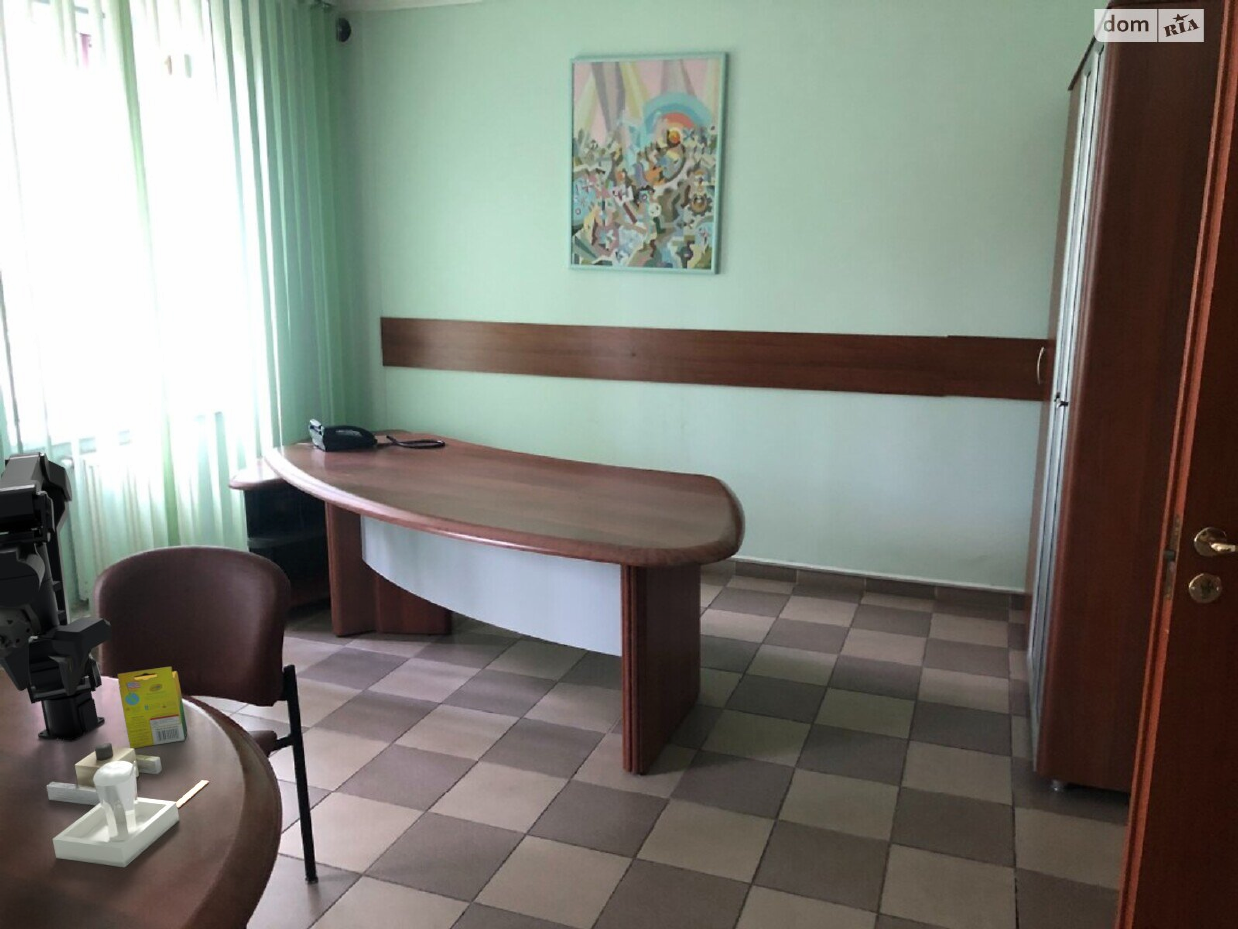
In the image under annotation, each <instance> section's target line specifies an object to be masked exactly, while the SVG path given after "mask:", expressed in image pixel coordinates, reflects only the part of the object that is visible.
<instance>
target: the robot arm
mask: <svg viewBox="0 0 1238 929" xmlns="http://www.w3.org/2000/svg"><path fill="white" fill-rule="evenodd" d="M4 467H5V468H4V470H3V471H2V473H1V474H0V666H1V667H2V668H3V669H4V672H6V675H7V676H8V677H9V679H10V680H11V682H12V683H13V685H14V686H15V687H16V689H17V690H18V691H19V692H23V691H25V690H27V693H28V697H29V700H30V703H31V705H33V704H37V703H39V702H40V704H41V710H42V714H43V721H44V725H45V729H43V730H42V731H40V732H38V733H37V737H38V738H39V739H49V740H57V741H58V740H59V741H66V742H67V741H68V742H74V741H77V740H78V739H79V738H81V737H82V736H84V735H86V734H87V733H89V732H90V731H92V730H94V729H95V728H96V727H97V726H100V725H101V724H102V723H104V722H105V720H106V718H105V717H104V716H98V714H97V708H96V701H95V699H94V698H93V694H92V692H94V693H95V692H96V691H97V688H100V687H101V686H102V685H103V682H102V677H101V671H100V668H99V664H98V661H97V660H96V659H94V658H93V655H92V653H91V652H92V650H93V649H95V648H96V647H97V646H100V645H101V644H103V643H106V642H107V641H108V640H111V639H112V638H113V633H112V627H111V622H110V621H108V620H106V619H105V618H101V617H99V618H98V617H87V616H81V617H79V618H77V619H75V620H73V621H71V617H70V608H69V601H68V600H69V599H68V591H67V583H66V575H65V574H66V573H65V566H64V565H65V564H64V557H63V550H62V548H63V547H62V540H61V539H62V538H61V531H62V529H63V527H64V525H65V524H66V522H67V521H68V518H69V517H70V506H69V503H70V502H73V490H72V485H71V481H70V477H69V475H68V473H67V470H66V468H65V466H62V465H60V464H58V463H56V462H54V461H51V460H49V458H48V456H47V454H46V452H41V451H34V452H32V451H31V452H25V453H24V452H23V453H15V454H10V455H9V456H5V458H4ZM30 639H32V640H31V641H30ZM29 641H30V642H29Z"/></svg>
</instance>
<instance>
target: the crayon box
mask: <svg viewBox="0 0 1238 929" xmlns="http://www.w3.org/2000/svg"><path fill="white" fill-rule="evenodd" d="M144 674H148V675H144ZM117 679H118V680H117V681H118V689H119V693H120V700H121V704H122V711H123V712H122V713H123V716H124V721H125V727H126V732H127V738H128V743H129V748H132V749H138V748H142V747H143V748H144V747H149V746H154V745H155V746H156V745H161V744H162V745H163V744H168V743H169V744H170V743H175V742H184V741H185V740H186V735H187V732H188V727H187V721H186V720H187V719H186V715H185V709H184V704H183V697H182V690H181V685H180V684H181V683H180V681H179V674H178V671H177V670H174V671H173V667H172V666H165V667H159V668H157V667H156V668H151V669H143V670H142V669H141V670H136V671H129V672H122V673H117Z"/></svg>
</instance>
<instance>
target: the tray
mask: <svg viewBox="0 0 1238 929" xmlns="http://www.w3.org/2000/svg"><path fill="white" fill-rule="evenodd" d="M137 798H138V811H139V823H140V828H139V829H138V830H136V831H135V832H134V833H133V834H132V835H130V836H129V837H128V838H127V839H126V840H122V841H114V840H112V839H111V838H110V836H109V832H108V829H107V825H106V821H105V818H104V814H103V810H102V807H101V803H99V804H98V805H97V806H96V805H94V807H93V808H91V809H90V810H89V811H88V812H86V813H84V814H83V815H82V816H81V817H80V818H78V819H77V820H76V821H73V823H72V824H70V825H69V826H68V827H67V828H65V829H64V830H63V831H61V832H60V833H59V834H57V835H56V836H55V837H53V838H52V842H53V848H54V852H55V854H54V855H55V858H56V859H63V860H70V861H75V862H84V863H92V864H96V865H97V864H98V865H106V866H111V867H119V868H126V867H127V866H128V865H129V864H131V862H133V861H134V860H135V859H136V858H138V857H139V856H140V855H141V854H142V853H143V852H144V851H146V850H147V849H148V848H149V847H150V846H151V845H152V844H153V843H155V842H156V841H157V840H158V839H160V838H161V837H162V836H163V835H164V834H165V833H166V832H167V831H168V830H170V829H171V828H172V827H173V826H174V825H175V824H177V823H178V822H179V821H180V816H179V808H177V801H171V800H162V799H154V798H146V797H139V796H137Z"/></svg>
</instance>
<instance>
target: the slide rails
mask: <svg viewBox="0 0 1238 929" xmlns="http://www.w3.org/2000/svg"><path fill="white" fill-rule="evenodd" d="M135 755H136V761H137V767H138V773H143V774H153V775H158V774H159V773H160V772H161V771H162V770H163V769H162V763H161V758H160V757H159V756H153V755H144V754H143V755H142V754H135ZM209 783H210V781H209V780H203V779H202V780H200V782H199V783H197V784H196V785H195V786H194V787H193V788H191V789H190V790H189V791H187V793H186V794H184V795H183V796H182V797H181V798H179V799H178V800H177V801H176V802H177V809H179V808H181V807H182V806H184V805H185V804H186V803H187V802H188V801H189V800H190V799H192V798H193V796H195V795H197V794H198V792H200V791H201V790H202V789H203V788H204V787H206V786H207V785H208V784H209ZM46 791H47V795H48V796H47V798H48V800H50V801H58V802H63V803H64V802H67V803H73V804H82V805H90V806H97V805H98V804H99V803H100V800H99V797H98V794H97V790H96V787H93V786H84V785H78V784H76V783H75V784H74V783H68V782H67V783H66V782H59V781H51V782H50V783H49V784H47V785H46Z"/></svg>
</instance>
